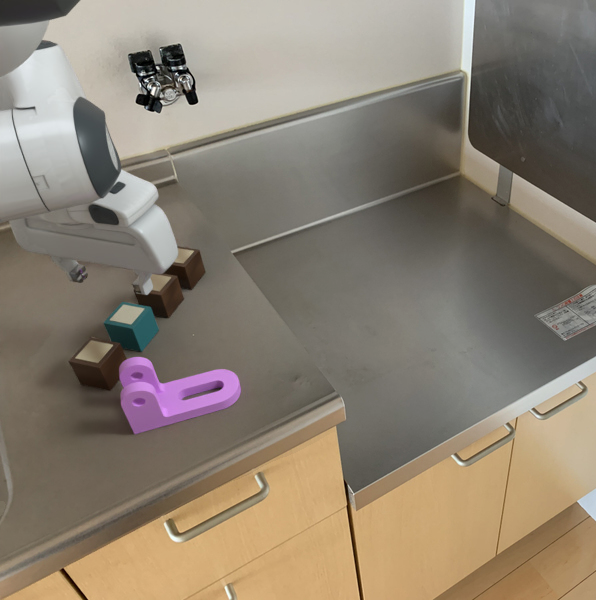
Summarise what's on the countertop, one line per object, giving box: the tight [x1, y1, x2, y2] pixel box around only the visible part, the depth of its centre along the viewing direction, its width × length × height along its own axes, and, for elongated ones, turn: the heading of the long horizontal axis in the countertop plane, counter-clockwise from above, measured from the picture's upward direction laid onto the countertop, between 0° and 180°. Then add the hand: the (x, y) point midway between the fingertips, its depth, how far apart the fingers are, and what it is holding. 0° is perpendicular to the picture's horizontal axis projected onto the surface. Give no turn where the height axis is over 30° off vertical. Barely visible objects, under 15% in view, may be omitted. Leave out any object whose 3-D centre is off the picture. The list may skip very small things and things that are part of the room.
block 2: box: [133, 273, 185, 319], centre depth 88 cm, size 4×4×4 cm
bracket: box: [119, 356, 242, 435], centre depth 74 cm, size 13×6×7 cm, turn 111°
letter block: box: [102, 301, 160, 353], centre depth 83 cm, size 4×4×4 cm
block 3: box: [163, 245, 206, 291], centre depth 93 cm, size 4×4×4 cm
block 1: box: [68, 336, 128, 392], centre depth 78 cm, size 4×4×4 cm
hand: (111, 285), depth 78 cm, fingers open, 8 cm apart
